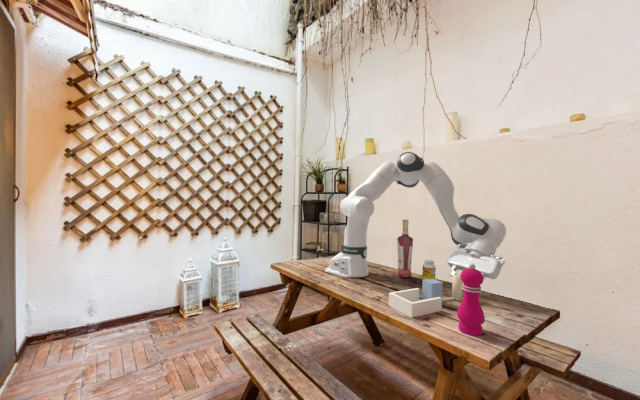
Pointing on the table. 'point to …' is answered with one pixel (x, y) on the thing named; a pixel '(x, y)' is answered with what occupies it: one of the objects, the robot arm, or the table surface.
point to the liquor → (404, 252)
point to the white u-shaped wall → (414, 303)
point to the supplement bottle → (428, 270)
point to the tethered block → (435, 289)
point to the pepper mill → (471, 302)
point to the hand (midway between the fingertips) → (462, 279)
